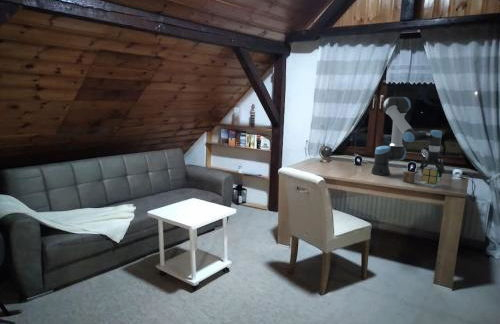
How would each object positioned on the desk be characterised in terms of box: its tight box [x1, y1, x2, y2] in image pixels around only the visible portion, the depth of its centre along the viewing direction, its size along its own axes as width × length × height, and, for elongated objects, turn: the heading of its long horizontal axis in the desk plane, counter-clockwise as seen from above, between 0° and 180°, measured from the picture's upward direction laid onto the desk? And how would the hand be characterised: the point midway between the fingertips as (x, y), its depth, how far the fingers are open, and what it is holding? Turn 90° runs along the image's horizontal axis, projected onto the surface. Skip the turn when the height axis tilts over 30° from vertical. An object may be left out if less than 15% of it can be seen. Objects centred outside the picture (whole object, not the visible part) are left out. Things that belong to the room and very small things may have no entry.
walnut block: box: [402, 170, 416, 185], centre depth 276 cm, size 6×6×8 cm
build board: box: [416, 180, 446, 189], centre depth 270 cm, size 14×14×1 cm
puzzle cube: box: [421, 165, 439, 183], centre depth 268 cm, size 10×10×10 cm
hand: (430, 179), depth 269 cm, fingers closed on puzzle cube, 11 cm apart
